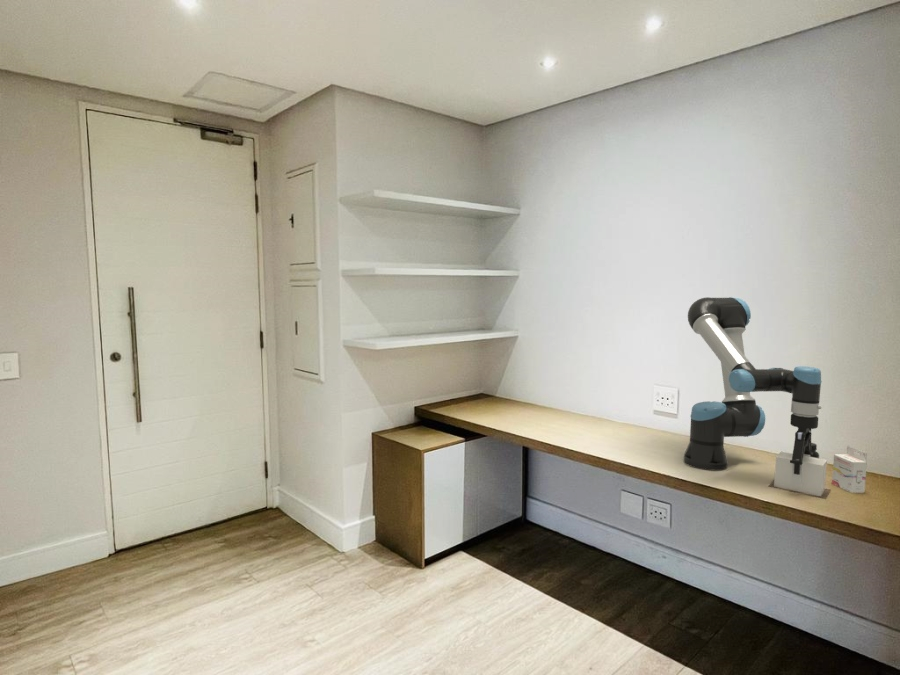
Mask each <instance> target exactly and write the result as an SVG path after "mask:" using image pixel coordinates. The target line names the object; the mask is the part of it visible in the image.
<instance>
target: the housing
mask: <svg viewBox="0 0 900 675" xmlns="http://www.w3.org/2000/svg"><path fill="white" fill-rule="evenodd" d="M792 456H793V452H792V453H790V452H785V451H781V452H779V453H778V454H777V455H775V467H774V468H775V469H774V479H775V480H774V479H773V480H774V486H775V487H779V488H784V489H789V490H793V491H798V492H802V493H807V494H811V495H816V496H822V494H823V492H824V490H825V489H826V478H827V477H826V476H827V466H828V465H827V464H828V459H825V458H820V457H819V458H814V457H808V456H803V472H802V485H799V484H794V483H791V481H792V465H793V463H790V460H792ZM796 460H798V459H796Z"/></svg>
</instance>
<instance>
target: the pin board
mask: <svg viewBox="0 0 900 675" xmlns="http://www.w3.org/2000/svg"><path fill="white" fill-rule="evenodd" d="M774 480H775V478H774V479H772V481H771V482H770V483H769V485H768V486H767V487H770V488H773V489H778V490H782V491H786V492H791V493H796V494H800V495H804V496H808V497H814V498H819V499H823V500H827V498H828V496H829V494H830V493H831V489H829V488H825V490H824V492H823V494H822V496H816V495H811V494H807V493H802V492H798V491H793V490H789V489H784V488H779V487H775V486H774Z"/></svg>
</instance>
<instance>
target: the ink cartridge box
mask: <svg viewBox="0 0 900 675" xmlns="http://www.w3.org/2000/svg"><path fill="white" fill-rule="evenodd" d="M854 452H855V453H854ZM867 455H868V454H867V452H866V451H863V450H861V449H858V448H856V447H853V446H850V445H847V446H846V453H841V454H840V453H839V454H838V453H837V454H836V453H834V454H833V465H832V476H831V484H832V485H833V486H837V487H838V488H841V489H843V490H844V491H847V492H849V493H851V494H855V493H856V494H857V493H858V494H859V493H860V494H861V493H865V490H866V489H865V488H866V477H867V468H868V467H867V466H868V462H867V460H868V459H867V458H868V456H867Z"/></svg>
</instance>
